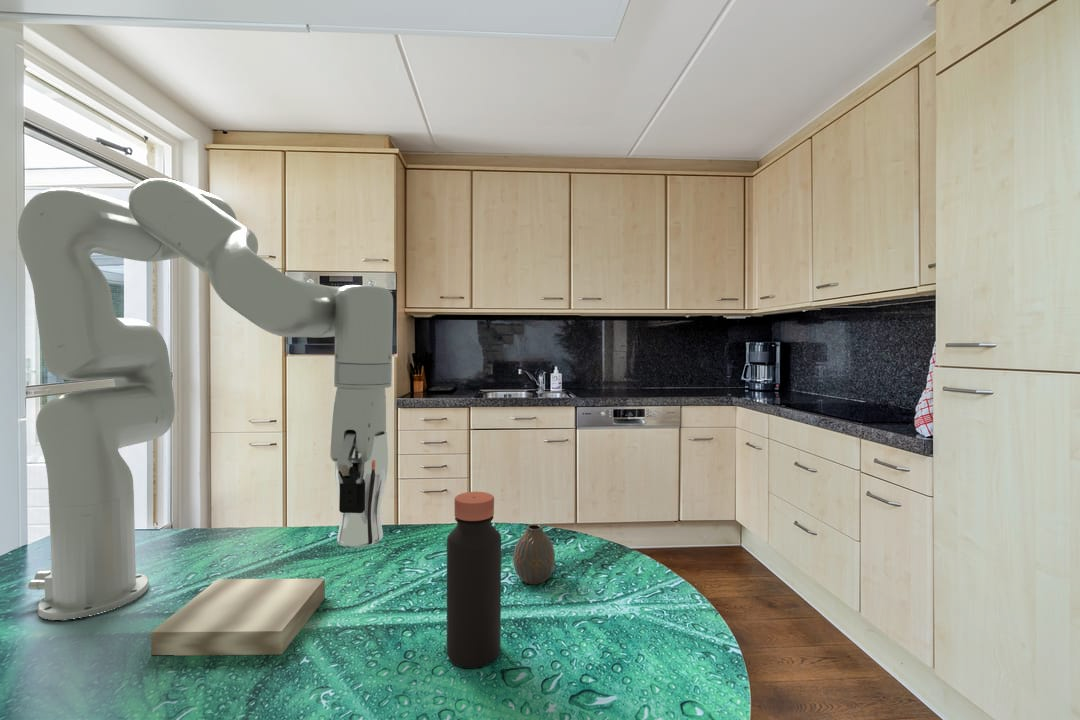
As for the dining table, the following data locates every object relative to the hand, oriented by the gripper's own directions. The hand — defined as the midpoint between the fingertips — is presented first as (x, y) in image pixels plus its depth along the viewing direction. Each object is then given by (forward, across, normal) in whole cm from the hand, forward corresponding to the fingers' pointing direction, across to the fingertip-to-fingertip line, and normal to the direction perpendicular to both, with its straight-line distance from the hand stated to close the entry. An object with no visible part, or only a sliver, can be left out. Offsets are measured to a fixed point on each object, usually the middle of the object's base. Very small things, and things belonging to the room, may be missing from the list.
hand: (360, 502), depth 72 cm
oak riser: (+17, +1, -15) cm, 23 cm away
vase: (+16, -12, +25) cm, 32 cm away
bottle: (+16, +8, +17) cm, 25 cm away
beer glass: (+5, 0, 0) cm, 5 cm away
